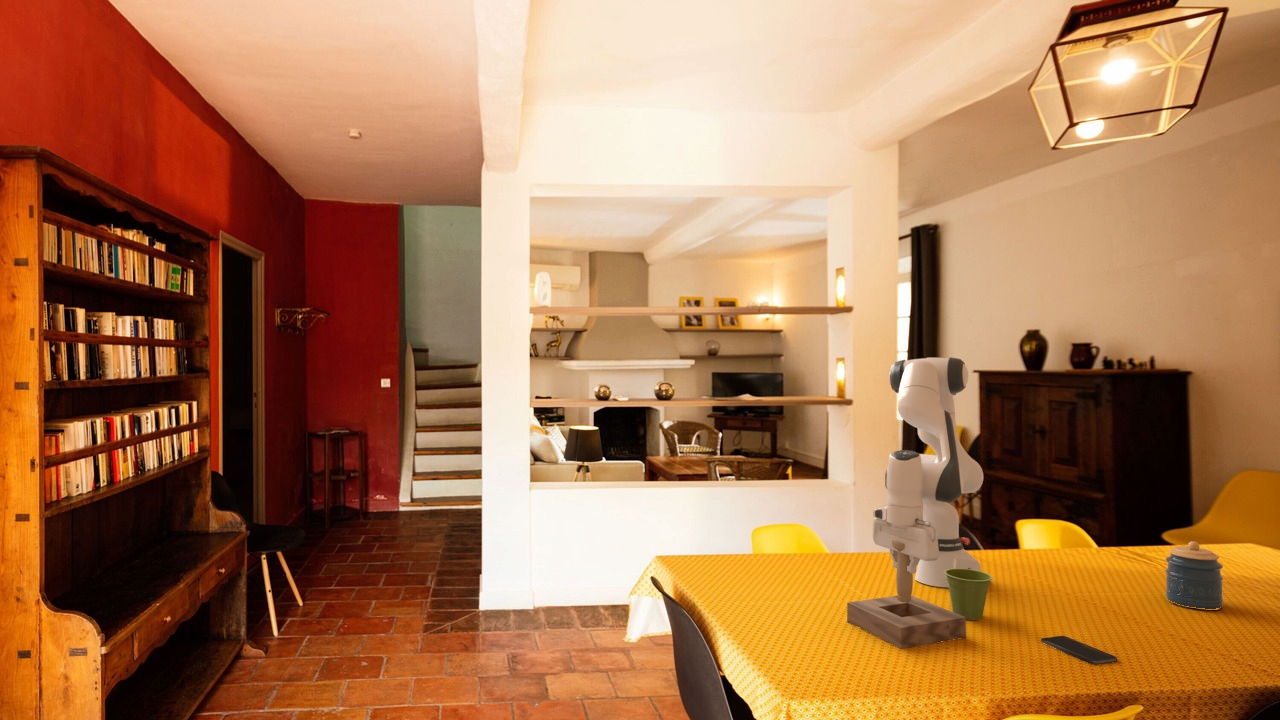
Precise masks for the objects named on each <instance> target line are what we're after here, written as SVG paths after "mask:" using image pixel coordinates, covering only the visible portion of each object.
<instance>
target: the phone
mask: <svg viewBox="0 0 1280 720" xmlns="http://www.w3.org/2000/svg"><path fill="white" fill-rule="evenodd" d="M1041 642H1043V643H1045V644H1047V645H1049V646H1048V647H1050V646H1052V647H1054V648H1056V649H1058V650H1057V651H1059V650H1060V651H1059V652H1061V651H1062V652H1061V653H1063V652H1064V653H1063V654H1066V655H1068V656H1070V655H1071V657H1073V658H1075V659H1077V660H1079V659H1080V661H1082V662H1084V661H1085V662H1084V663H1086V662H1088V663H1087V664H1089V663H1090V664H1089V665H1092V664H1094V665H1093V666H1098V665H1099V664H1100V665H1105V664H1112V662H1114V663H1117V662H1118V656H1115V655H1113V654H1111V653H1108V652H1106V651H1104V650H1101V649H1098V648H1096V647H1094V646H1092V645H1088V644H1087V643H1083V642H1081V641H1079V640H1076V639H1073V638H1071V637H1069V636H1065V635H1058V636H1057V635H1056V636H1050V637H1049V636H1048V637H1042V638H1040V643H1041ZM1043 643H1042V644H1043ZM1045 644H1044V645H1045ZM1047 645H1046V646H1047ZM1052 647H1051V648H1052ZM1054 648H1053V649H1054ZM1056 649H1055V650H1056ZM1100 665H1099V666H1100Z"/></svg>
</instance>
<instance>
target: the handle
mask: <svg viewBox="0 0 1280 720" xmlns="http://www.w3.org/2000/svg"><path fill="white" fill-rule="evenodd" d="M892 546H893V547H894V548H895V549H897V550H898V558H897V568H896V574H895V576H896V577H895V585H896V586H895V587H896V593H897V594H896V596H897V599H898V601H901V602H906V603H908V602H910V601H911V597H912V596H913V595H912V594H913V593H912V592H913V585H914V583H913V582H914V579H913V578H914V577H913V576H914V575H913V574H911V573H908V572H907V565H909V564H910V562H911V560H910V559H909V555H906V554H903V553H901V552H900V551H902V550H904V548H905V544H903V543H900V542H897V541H894V540H892Z"/></svg>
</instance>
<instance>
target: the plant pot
mask: <svg viewBox="0 0 1280 720" xmlns="http://www.w3.org/2000/svg"><path fill="white" fill-rule="evenodd" d="M944 573H945V574H946V576H947V582H948V584H949V595H950V596H949V597H950V604H951V610H952V611H951V612H954V613H956V614H959V615H961V616H964V617H966V620H967V619H968V620H967V621H979V620H981V619H982V618H983V616H984V612H985V611H984V610H985V606H986V600H987V594H988V590H989V589H990V584H991V581H992V580H993V578H994V577H993V576H992V575H991V574H990V573H987V572H985V571H977V570H972V569H962V568H953V569H947V570H945V571H944ZM978 619H979V620H978Z"/></svg>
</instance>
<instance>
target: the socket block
mask: <svg viewBox="0 0 1280 720" xmlns="http://www.w3.org/2000/svg"><path fill="white" fill-rule="evenodd" d="M911 596H912V597H911V601H910V602H908V603H906V602H901V601H898V599H897V595H893V596H885V597H879V598H878V597H877V598H871V599H865V600H864V599H863V600H855V601H849V602H848V601H847V602H846V603H847V605H846V609H847V610H846V611H847V612H846V616H847V621H846V622H847V623H849V624H850V625H853V626H854V625H855V627H856V626H858V627H860V628H861V629H860V628H859V629H860V630H862V629H863V631H864V630H865V631H864V632H866V631H867V632H866V633H868V632H869V633H868V634H870V633H871V634H870V635H872V636H874V635H875V636H874V637H876V636H877V637H876V638H878V637H879V638H878V639H880V638H881V639H880V640H882V639H883V640H882V641H884V640H885V641H884V642H886V641H887V642H886V643H888V642H889V643H888V644H890V643H891V644H890V645H892V644H893V645H892V646H894V645H895V646H894V647H896V646H897V647H896V648H899V649H900V650H902V648H904V649H909V648H908V647H910V648H914V647H915V646H916V647H921V646H926V645H927V646H928V645H933V644H938V643H937V642H939V643H942V642H941V641H945V642H949V641H948V640H951V641H954V640H953V639H957V640H959V639H958V638H962V639H965V638H964V637H966V638H967V619H966V617H964V616H961V615H959V614H956V613H954V612H953V611H951V610H948V609H946V608H945V607H944V608H943V607H941V606H938V605H936V604H933V603H931V602H929V601H926V600H924V599H921V598H918V597H916V596H914V595H911ZM858 627H857V628H858Z"/></svg>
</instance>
